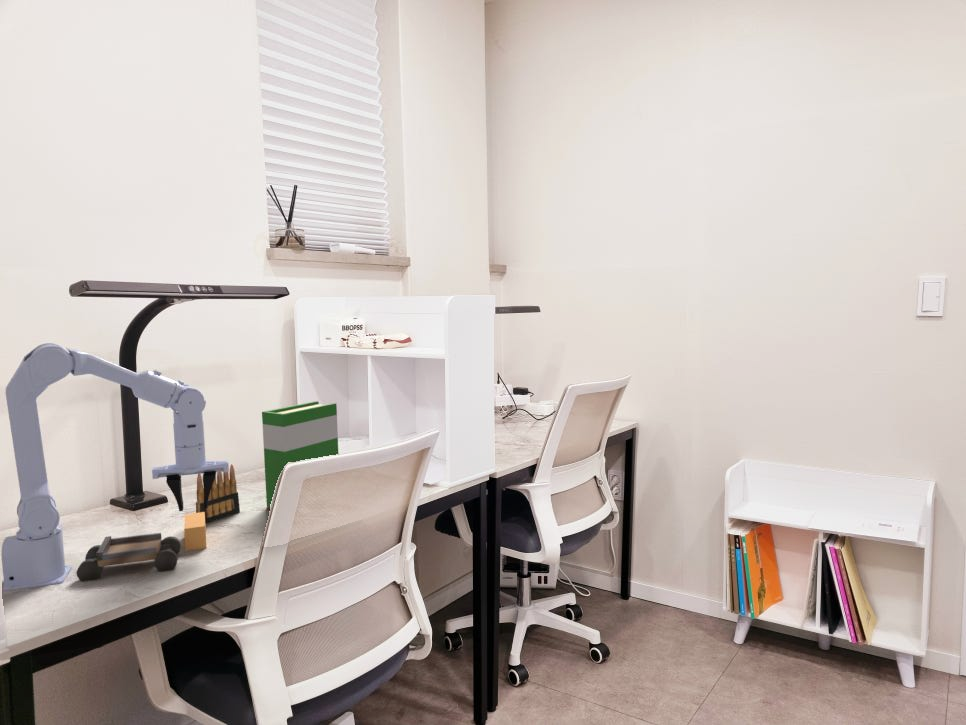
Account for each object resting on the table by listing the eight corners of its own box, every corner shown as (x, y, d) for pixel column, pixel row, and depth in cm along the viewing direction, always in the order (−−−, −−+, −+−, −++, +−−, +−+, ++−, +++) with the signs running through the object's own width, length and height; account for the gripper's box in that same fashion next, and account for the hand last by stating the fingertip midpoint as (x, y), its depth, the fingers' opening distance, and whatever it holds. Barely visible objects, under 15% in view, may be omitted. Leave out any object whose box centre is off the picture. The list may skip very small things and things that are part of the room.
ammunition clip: (235, 511, 170) (232, 462, 169) (240, 512, 169) (237, 463, 168) (196, 524, 162) (192, 473, 160) (201, 525, 161) (197, 474, 159)
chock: (185, 552, 145) (184, 528, 144) (186, 536, 154) (184, 514, 153) (206, 549, 146) (205, 526, 146) (206, 533, 155) (204, 511, 155)
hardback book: (319, 489, 187) (316, 401, 184) (340, 494, 183) (336, 403, 180) (266, 508, 172) (261, 411, 170) (287, 512, 168) (282, 414, 166)
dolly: (77, 584, 129) (75, 555, 129) (87, 566, 138) (85, 539, 137) (177, 570, 135) (175, 543, 134) (181, 554, 143) (179, 528, 143)
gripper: (148, 451, 138) (153, 518, 140) (226, 445, 143) (230, 509, 145) (152, 444, 145) (157, 508, 146) (227, 438, 150) (230, 500, 151)
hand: (193, 508), depth 146 cm, fingers open, 4 cm apart
